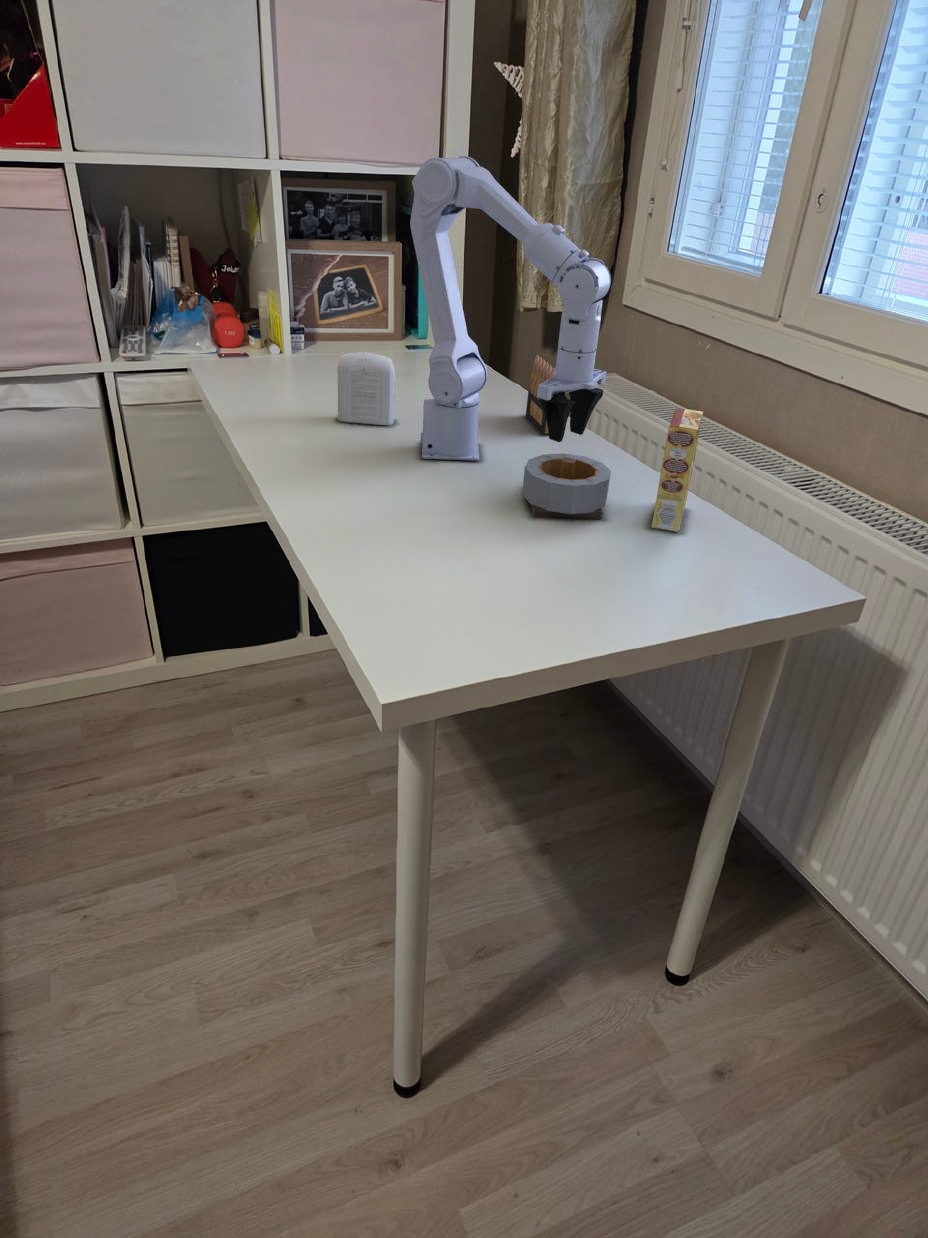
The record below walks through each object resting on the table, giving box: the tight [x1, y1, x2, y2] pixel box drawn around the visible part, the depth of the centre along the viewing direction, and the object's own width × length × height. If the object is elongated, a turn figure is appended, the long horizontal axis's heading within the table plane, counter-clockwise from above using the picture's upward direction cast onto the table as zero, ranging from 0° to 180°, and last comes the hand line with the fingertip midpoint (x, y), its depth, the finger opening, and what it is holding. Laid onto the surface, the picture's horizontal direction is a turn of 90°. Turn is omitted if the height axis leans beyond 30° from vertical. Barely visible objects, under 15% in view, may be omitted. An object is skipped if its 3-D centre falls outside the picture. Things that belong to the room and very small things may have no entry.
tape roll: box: [521, 453, 612, 514], centre depth 126 cm, size 13×13×4 cm
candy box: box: [651, 407, 704, 533], centre depth 121 cm, size 9×4×15 cm, turn 162°
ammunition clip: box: [525, 353, 556, 436], centre depth 155 cm, size 11×2×12 cm, turn 14°
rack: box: [530, 458, 603, 520], centre depth 126 cm, size 10×10×7 cm
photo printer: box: [336, 351, 396, 426], centre depth 152 cm, size 10×4×12 cm, turn 86°
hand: (566, 436), depth 133 cm, fingers open, 5 cm apart
